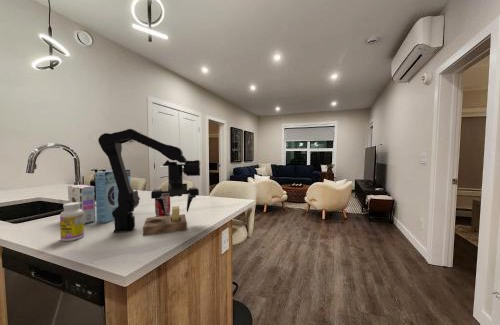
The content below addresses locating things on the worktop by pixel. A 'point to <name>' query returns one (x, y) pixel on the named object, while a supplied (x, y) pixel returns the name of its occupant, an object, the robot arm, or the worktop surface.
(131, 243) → the worktop surface
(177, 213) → the pale yellow block
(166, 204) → the soda can
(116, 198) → the light blue cardboard box
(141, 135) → the robot arm
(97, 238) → the worktop surface
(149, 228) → the bit block
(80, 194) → the candy box
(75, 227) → the supplement bottle
